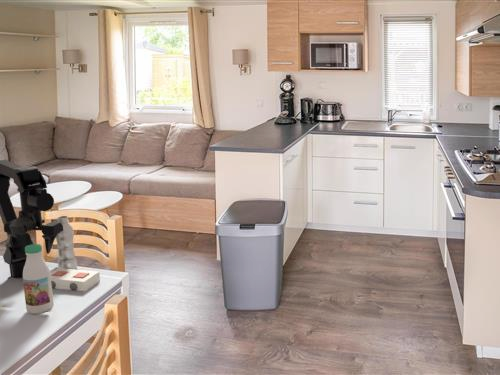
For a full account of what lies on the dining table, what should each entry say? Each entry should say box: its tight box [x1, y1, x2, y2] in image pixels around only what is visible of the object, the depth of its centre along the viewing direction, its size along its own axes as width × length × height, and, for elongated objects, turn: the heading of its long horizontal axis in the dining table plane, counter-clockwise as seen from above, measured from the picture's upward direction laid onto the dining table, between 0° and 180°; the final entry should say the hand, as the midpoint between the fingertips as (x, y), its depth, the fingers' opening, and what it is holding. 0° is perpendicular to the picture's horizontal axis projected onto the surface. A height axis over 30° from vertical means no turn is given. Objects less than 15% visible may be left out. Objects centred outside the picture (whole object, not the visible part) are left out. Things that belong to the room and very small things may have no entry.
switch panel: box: [49, 266, 101, 292], centre depth 181 cm, size 17×9×4 cm, turn 74°
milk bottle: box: [22, 243, 55, 315], centre depth 162 cm, size 8×8×20 cm
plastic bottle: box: [55, 215, 78, 270], centre depth 193 cm, size 6×7×20 cm
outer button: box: [73, 272, 89, 278], centre depth 180 cm, size 4×4×2 cm
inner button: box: [52, 271, 68, 276], centre depth 182 cm, size 4×4×2 cm
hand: (36, 252), depth 179 cm, fingers open, 9 cm apart
